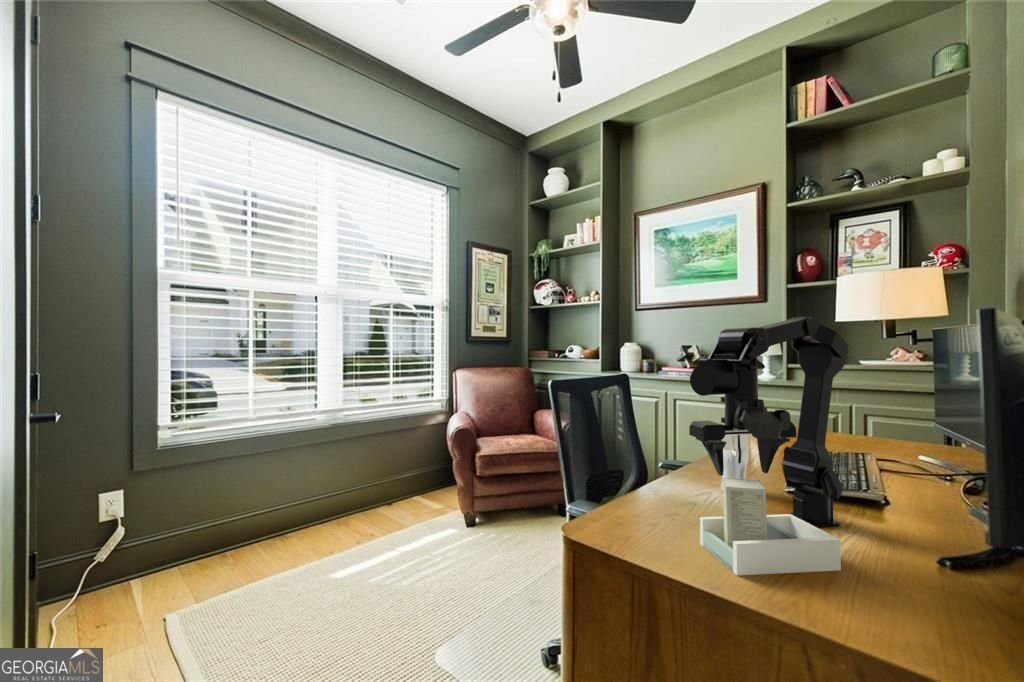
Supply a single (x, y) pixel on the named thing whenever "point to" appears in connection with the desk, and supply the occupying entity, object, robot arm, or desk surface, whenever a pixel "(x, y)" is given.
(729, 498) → the skincare box
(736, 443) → the beer glass
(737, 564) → the box
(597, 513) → the desk surface
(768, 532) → the tall grey panel
